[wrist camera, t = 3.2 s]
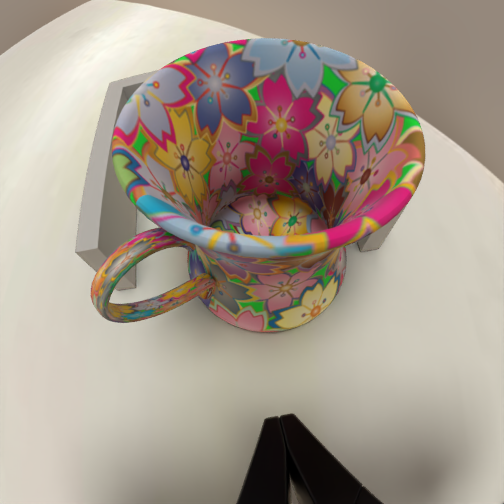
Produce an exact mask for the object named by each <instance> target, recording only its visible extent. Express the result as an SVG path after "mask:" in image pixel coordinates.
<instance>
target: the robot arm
mask: <svg viewBox="0 0 504 504" xmlns="http://www.w3.org/2000/svg"><path fill="white" fill-rule="evenodd" d="M290 478H291V482H292V485H293V488H294V491H295V494H296V496H297V499H298V502H299V504H383V503H382V502H381V501H380V500H379V499H378V498H376V497H375V496H374V495H373V494H372V493H371V492H370V491H369V490H368V489H367V488H366V487H364V486H363V487H362V484H361V483H360V482H359V481H358V480H357V479H356V478H355V477H354V476H353V475H352V474H351V473H350V472H349V471H348V470H347V469H346V468H345V467H344V466H343V465H342V464H341V463H340V462H339V461H338V460H337V459H336V458H335V457H334V456H333V455H332V454H331V453H330V452H329V451H328V450H327V449H326V448H325V446H324V445H323V444H322V443H321V442H320V441H319V440H318V439H317V438H316V437H315V436H314V435H313V434H312V433H311V432H310V431H309V430H308V428H307V427H306V426H305V425H304V424H303V423H302V422H301V421H300V420H299V419H298V418H297V417H296V415H294V414H286V415H281V416H280V418H279V417H278V416H275V417H269V418H266V419H265V420H264V422H263V425H262V429H261V432H260V435H259V438H258V441H257V444H256V447H255V451H254V454H253V457H252V460H251V463H250V466H249V469H248V472H247V475H246V477H245V480H244V483H243V486H242V489H241V492H240V495H239V498H238V500H237V503H236V504H292V502H291V483H290Z"/></svg>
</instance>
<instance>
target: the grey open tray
mask: <svg viewBox="0 0 504 504" xmlns="http://www.w3.org/2000/svg"><path fill="white" fill-rule="evenodd" d="M157 71H158V70H157ZM157 71H153V72H149V73H144V74H140V75H136V76H133V77H129V78H125V79H121V80H118V81H114V82H111V83H109V86H108V90H107V93H106V96H105V100H104V103H103V107H102V110H101V114H100V118H99V121H98V125H97V129H96V133H95V137H94V142H93V146H92V150H91V155H90V160H89V164H88V169H87V174H86V180H85V185H84V191H83V197H82V203H81V210H80V217H79V224H78V232H77V241H76V250H75V253H77V254H78V255H79V256H80V257H81V258H82V259H83V260H84V261H85V262H86V263H87V264H88V265H89V266H90V267H92V268H93V269H94V270H95V271H96V272H97V271H98V270H99V268H100V267H101V265H102V264H103V262H104V261H105V260H106V259H107V258H108V257H109V255H110V254H111V253H113V252H114V251H115V250H116V249H117V248H118V247H119V246H121V245H122V244H123V243H125V242H126V241H128V240H129V239H131V238H133V237H134V236H136V213H137V208H136V206H135V205H134V204H133V203H132V202H131V201H130V199H129V198H128V196H127V195H126V193H125V192H124V190H123V188H122V187H121V185H120V183H119V180H118V178H117V176H116V173H115V169H114V165H113V159H112V138H113V133H114V128H115V125H116V122H117V119H118V117H119V115H120V113H121V111H122V109H123V107H124V106H125V104H126V103H127V101H128V100H129V98H130V97H131V96H132V95H133V93H134V92H135V91H136V90H137V89H138V88H139V87H140V86H141V85H142V84H143V83H144V82H145V81H146V80H147V79H148V78H149V77H150V76H152V75H153V74H154V73H156V72H157ZM407 204H408V203H407ZM405 207H406V206H405ZM405 207H404V208H403V209H402V210H401V212H400V213H399V214H398V215H397V216H395V217H394V218H393V219H392V220H391V221H390V222H389V223H387V224H386V225H384V226H383V227H381V228H380V229H378V230H377V231H375V232H374V233H372V234H370V235H368V236H366V237H364V238H362V239H360V240H358V241H357V242H358V245H359V248H360V251H361V252H363V251H369V250H374V249H379V248H380V246H381V245H382V243H383V242H384V240H385V239H386V237H387V235H388V234H389V232H390V231H391V229H392V228H393V226H394V225H395V223H396V221H397V220H398V218H399V217H400V215H401V214H402V212H403V210H404V209H405ZM130 288H136V265H135V266H133V267H132V268H131V269H130V270H129V271H128V272H127V273H126V274H125V275H124V276H123V277H122V278H121V280H120V281H119V282H118V284H117V285H116V287H115V289H116V290H123V289H130Z"/></svg>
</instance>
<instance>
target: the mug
mask: <svg viewBox="0 0 504 504" xmlns="http://www.w3.org/2000/svg"><path fill="white" fill-rule="evenodd" d="M112 159H113V165H114V169H115V173H116V176H117V178H118V180H119V183H120V185H121V187H122V188H123V190H124V192H125V193H126V195H127V196H128V198H129V199H130V201H131V202H132V203H133V204H134V205H135V206H136V208H137V209H138V210H139V211H140V212H141V213H143V214H144V215H145V216H146V217H147V218H148V219H149V220H151V221H152V222H154V223H155V224H156V225H158V226H159V227H161V228H155V229H151V230H148V231H145V232H143V233H141V234H138V235H136V236H134V237H133V238H131V239H129V240H128V241H126V242H125V243H123V244H122V245H121V246H119V247H118V248H117V249H116V250H115V251H114V252H113V253H111V254H110V255H109V257H108V258H107V259H106V260H105V261H104V262H103V264H102V265H101V267H100V268H99V270H98V271H97V273H96V275H95V277H94V280H93V282H92V286H91V299H92V302H93V305H94V306H95V308H96V309H97V311H98V312H99V313H100V315H102V316H103V317H104V318H105V319H107V320H109V321H112V322H117V323H129V322H136V321H141V320H145V319H148V318H152V317H155V316H158V315H160V314H163V313H165V312H168V311H170V310H172V309H174V308H176V307H178V306H180V305H182V304H184V303H186V302H188V301H189V300H191V299H193V298H195V297H196V296H199V298H200V299H201V300H202V302H203V303H204V304H205V305H206V306H207V307H208V309H210V310H211V311H212V312H213V313H214V314H215V315H217V316H218V317H219V318H221V319H223V320H224V321H226V322H228V323H230V324H232V325H234V326H237V327H240V328H243V329H246V330H251V331H258V332H277V331H284V330H288V329H292V328H295V327H298V326H300V325H303V324H305V323H307V322H309V321H310V320H312V319H313V318H315V317H316V316H318V315H319V314H320V313H321V312H323V311H324V310H325V309H326V308H327V307H328V306H329V305H330V303H331V302H332V301H333V300H334V298H335V296H336V295H337V293H338V291H339V289H340V287H341V285H342V282H343V279H344V275H345V270H346V249H345V246H346V245H348V244H351V243H354V242H356V241H358V240H360V239H362V238H364V237H366V236H368V235H370V234H372V233H374V232H375V231H377V230H378V229H380V228H381V227H383V226H384V225H386V224H387V223H389V222H390V221H391V220H392V219H393V218H394V217H395V216H397V215H398V214H399V213H400V212H401V210H402V209H403V208H404V207H405V206H406V205H407V203H408V202H409V201H410V199H411V197H412V196H413V194H414V193H415V191H416V189H417V187H418V185H419V182H420V180H421V177H422V174H423V170H424V163H425V142H424V137H423V132H422V129H421V126H420V123H419V121H418V119H417V116H416V114H415V113H414V111H413V109H412V108H411V106H410V104H409V103H408V102H407V100H406V99H405V98H404V96H403V95H402V94H401V93H400V92H399V91H398V89H396V87H395V86H393V84H391V83H390V82H389V81H388V80H387V79H386V78H384V77H383V76H382V75H381V74H380V73H378V72H377V71H375V70H374V69H372V68H371V67H369V66H367V65H366V64H364V63H363V62H361V61H359V60H357V59H355V58H353V57H351V56H349V55H346V54H344V53H342V52H339V51H336V50H333V49H330V48H327V47H324V46H321V45H316V44H312V43H307V42H302V41H295V40H288V39H269V38H261V39H246V40H237V41H231V42H225V43H221V44H216V45H213V46H209V47H206V48H203V49H200V50H197V51H194V52H192V53H189V54H187V55H185V56H183V57H180V58H178V59H176V60H175V61H173V62H171V63H169V64H167V65H166V66H164V67H163V68H161V69H160V70H158V71H157V72H156V73H154V74H153V75H152V76H150V77H149V78H148V79H147V80H146V81H145V82H144V83H143V84H142V85H141V86H140V87H139V88H138V89H137V90H136V91H135V92H134V93H133V95H132V96H131V97H130V98H129V100H128V101H127V103H126V104H125V106H124V107H123V109H122V111H121V113H120V115H119V117H118V119H117V122H116V125H115V128H114V133H113V138H112ZM170 247H183V248H186V249H187V250H188V270H189V275H190V279H191V280H189V281H187V282H186V283H184V284H182V285H180V286H178V287H176V288H174V289H172V290H170V291H168V292H166V293H164V294H161V295H159V296H156V297H153V298H150V299H147V300H144V301H139V302H134V303H127V304H113V303H109V300H110V296H111V294H112V292H113V290H114V288H115V287H116V285H117V284H118V282H119V281H120V280H121V278H122V277H123V276H124V275H125V274H126V273H127V272H128V271H129V270H130V269H131V268H132V267H133V266H135V265H136V264H137V263H138V262H140V261H141V260H143V259H144V258H146V257H148V256H149V255H151V254H153V253H155V252H158V251H160V250H163V249H166V248H170Z"/></svg>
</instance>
